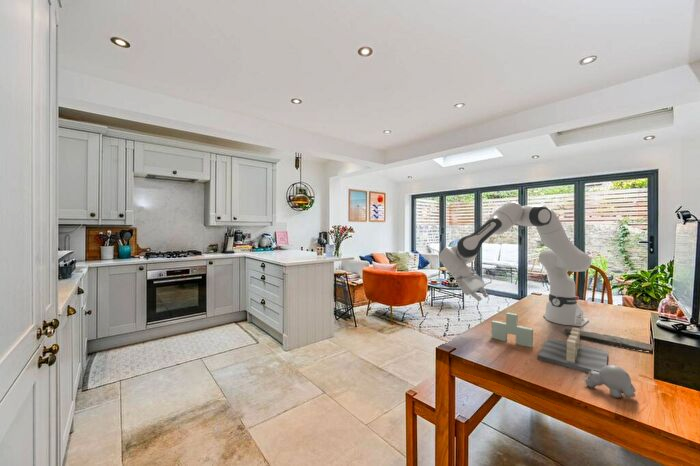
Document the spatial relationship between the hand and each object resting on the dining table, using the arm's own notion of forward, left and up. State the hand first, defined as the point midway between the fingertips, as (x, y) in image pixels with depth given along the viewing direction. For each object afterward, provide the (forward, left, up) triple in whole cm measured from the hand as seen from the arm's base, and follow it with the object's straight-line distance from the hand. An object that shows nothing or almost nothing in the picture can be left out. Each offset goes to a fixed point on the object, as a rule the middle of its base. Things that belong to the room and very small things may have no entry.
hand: (483, 298), depth 138 cm
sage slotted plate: (-4, +11, -17) cm, 21 cm away
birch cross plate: (-12, +32, -17) cm, 38 cm away
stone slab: (-44, +30, -18) cm, 56 cm away
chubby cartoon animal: (+6, +50, -18) cm, 53 cm away
